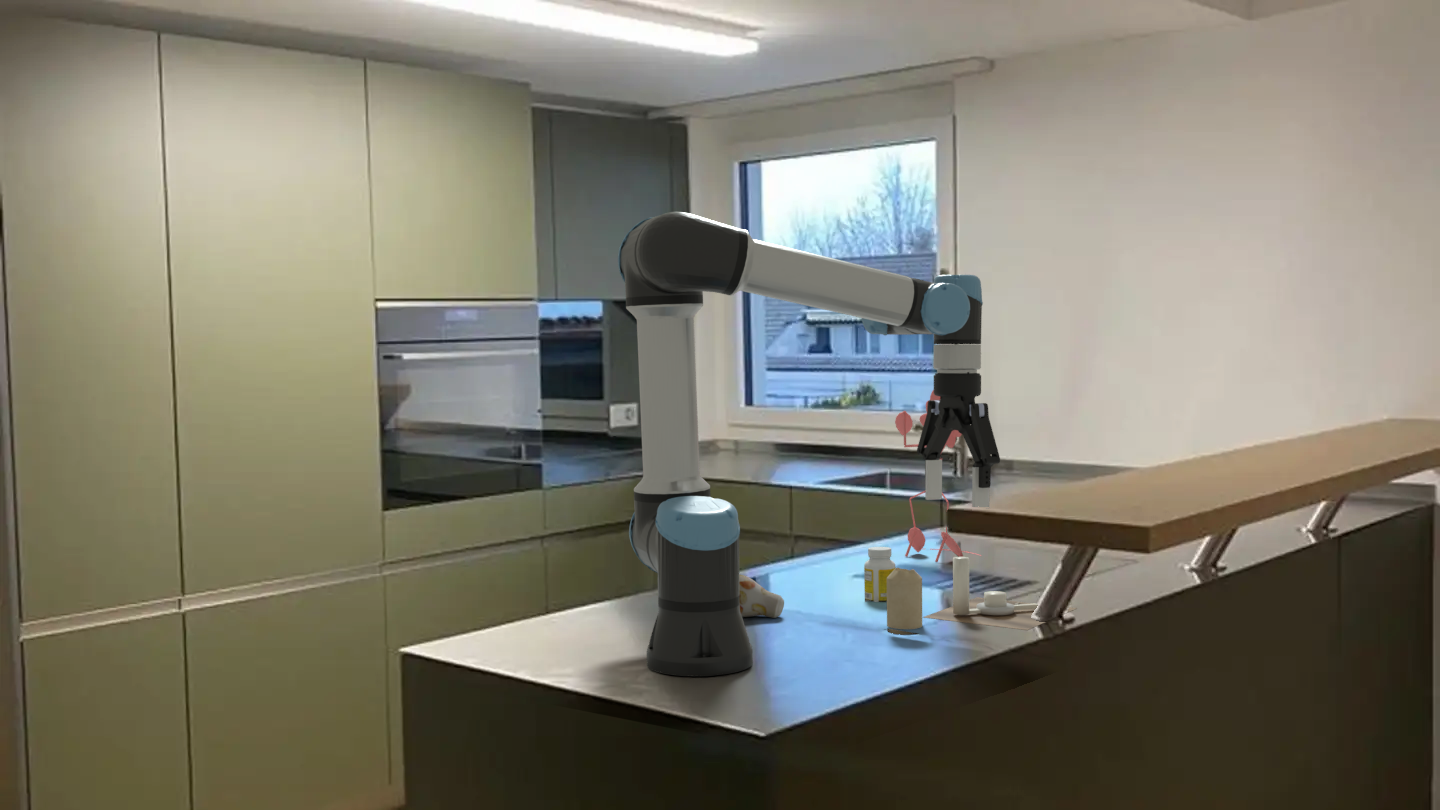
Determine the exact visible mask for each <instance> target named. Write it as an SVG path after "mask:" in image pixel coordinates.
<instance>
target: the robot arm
mask: <svg viewBox="0 0 1440 810" xmlns="http://www.w3.org/2000/svg"><path fill="white" fill-rule="evenodd" d="M617 265H618V266H617V267H618V270H619V274H620V277H621V278H622V281H623V282H624V284H625V286H624V287H625V309H626V310H627V311H628V312H629V313H630V314H632V316H633V317H634V318H635V319H636V330H637V331H636V335H637V354H638V355H637V356H638V377H639V378H638V379H639V381H638V383H639V401H640V402H639V403H640V404H639V405H640V427H641V428H640V429H641V430H640V431H641V449H642V450H641V453H642V456H641V457H642V478H641V480H640V481H639V482H638V483H637V485H636V486H635V487H634V488H633V502H634V504H633V505H634V512H633V514H632V516H631V520H630V523H629V530H628V535H629V540H630V545H631V547H632V550H633V551H634V553H635V555H636V557H637V558H638V560H640V562H641V563H642V564H643V566H646V567H647V568H648V569H649V570H651V571H652V572H654V573H656V574H657V600H658V601H657V603H658V605H657V606H658V608H657V615H656V617H655V622H654V625H653V628H652V632H651V634H650V635H651V636H650V639H649V644H648V646H647V648H646V666H647V668H649V670H652V671H653V672H657V673H660V674H664V675H669V676H670V675H672V676H679V677H681V676H682V677H713V676H722V675H728V674H730V675H731V674H734V673H738V672H742V671H745V670H747V669H749V668H750V667H752V665H753V663H754V661H753V659H754V658H753V657H754V656H753V655H754V654H753V653H754V652H753V646H752V644H751V642H750V639H749V635H748V632H747V629H746V625H745V622H744V619H743V617H742V616H741V613H740V599H739V595H740V594H739V575H740V533H741V527H740V526H741V525H740V523H739V514H738V509H737V508H736V506H735V505H734V504H732V503H731V502H730V501H727V500H725V499H721V498H713V497H711V495H712V494H711V484H709V483H708V482H707V481H706V480H705V479H704V478H703V477H702V475H701V473H700V472H701V471H700V470H701V469H700V468H701V467H700V448H699V442H700V441H699V424H698V423H699V422H698V420H699V419H698V395H697V369H696V346H695V343H696V341H695V317H696V314H697V313H698V312H699V311H700V310H701V309H702V308H703V306H704V292H709V293H715V294H717V293H718V294H722V295H727V296H730V297H731V296H734V295H736V294H737V293H739V292H745V293H749V294H752V295H753V294H754V295H758V296H761V297H762V296H763V297H766V298H771V299H775V300H780V301H783V302H789V303H793V304H798V305H803V306H807V307H811V308H815V309H819V310H820V309H821V310H824V311H829V312H834V313H838V314H841V315H847V316H850V317H851V316H852V317H856V318H859V319H860V318H861V323H862V325H863V328H864V330H865V331H866V333H869V334H870V335H883V336H887V335H892V336H893V335H899V336H900V335H901V336H902V335H910V336H911V335H933V369H934V370H936V373H934V375H933V390H934V395H936V396H940V400H930V399H929V401H928V400H927V401H928V408H927V411H926V413H927V416H926V419H925V423H924V426H923V425H922V429H921V435H920V437H919V440H918V443H917V444H918V447H916V453H917V455H918V456H919V455H921V456H922V459H924V476H925V477H924V478H925V490H924V491H925V495H924V496H925V500H926V501H930V500H931V501H933V500H942V499H943V496H942V493H943V456H942V453H943V451H944V450H943V448H944V446H945V444H946V442H947V440H948V438H949V436H950V434H951V432H952V431H953V430H958V431H959V433H961V434H962V435H961V436H963V439H964V441H965V444H966V446H967V447H968V450H969V452H970V454H971V456H972V459H973V461H974V463H973V464H972V467H971V468H972V469H971V470H972V476H971V477H972V478H971V481H972V485H971V504H972V505H971V508H972V507H978V506H979V507H989V508H990V496H991V495H990V494H991V493H990V491H991V490H990V488H991V483H992V482H991V478H992V477H991V474H992V473H991V472H992V471H991V468H992V467H993V466H994V465H996V464H1000V462H1001V456H1000V453H999V450H998V447H997V442H996V440H995V436H994V432H993V428H992V425H991V421H990V416H989V405H988V403H987V402H981V403H976V400H975V399H976V397H979V396H981V393H982V375H981V373H980V372H978V370H981V368H982V356H981V355H982V349H981V348H982V319H983V318H982V314H983V312H982V311H983V304H984V302H983V295H982V294H983V293H982V282H981V280H980V278H979V276H977V275H974V274H940V275H936V276H935V277H934V281H933V282H932V281H928V280H924V279H919V278H915V277H914V278H913V277H910V276H907V275H903V274H899V273H895V272H890V271H886V270H883V269H879V268H875V267H869V266H866V265H861V264H858V263H853V262H850V261H849V262H848V261H847V260H846V261H845V260H842V259H841V260H840V259H837V258H833V257H828V256H824V255H820V254H815V253H812V252H808V251H804V250H800V249H796V248H791V247H787V246H783V245H779V244H775V243H770V242H765V241H763V240H758V239H754V238H753V237H752V236H751V234H750V233H749V231H748V230H747V229H743V228H739V227H735V226H732V225H729V224H726V223H722V222H718V221H715V220H714V219H713V220H711V219H709V218H706V217H703V216H700V215H696V214H694V213H689V212H683V211H670V212H666V213H662V214H660V215H656V216H654V217H648V218H646V219H643V220H641V221H639V222H638V223H636V224H635V225H634V226H632V227H631V228H630V230H629V231H628V232H627V233H626V234H625V236H624V237H623V239H622V241H621V243H620V246H619V247H618V254H617ZM946 445H947V444H946ZM925 446H926V447H925ZM945 447H946V446H945ZM944 449H945V448H944ZM942 450H943V451H942ZM941 452H942V453H941ZM939 459H942V460H939Z"/></svg>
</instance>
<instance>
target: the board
mask: <svg viewBox="0 0 1440 810" xmlns="http://www.w3.org/2000/svg"><path fill="white" fill-rule="evenodd" d="M983 602H984V597H979V596H977V597H974V598H971V599H969V609H977V604H979V603H983ZM1007 603H1010V604H1013V605H1018V604H1033V602H1023V601H1022V602H1021V601H1015V600H1007ZM1068 607H1069V606H1068ZM1077 609H1078V608H1077V607H1069V609H1068V613H1070V612H1073V611H1074V610H1077ZM1034 610H1035V609H1026V610H1014V613H1013V614H1009V615H986V614H981V613H976V614H967V615H957V614H953V605H952V606H950V607H947V608H944V609H940V610H939V611H936V612H933V613H931V614H928V615H926V616H922V619H923V618H924V619H931V620H932V619H933V620H940V621H951V622H955V623H965V624H966V623H967V624H974V625H981V626H982V625H983V626H991V627H998V628H1005V629H1006V628H1008V629H1014V630H1020V631H1021V630H1023V631H1029V630H1031V629H1034V628H1036V627H1038V626H1041V625H1042V624H1045V623H1046V622H1039V621H1036V620H1034V619H1032V618H1031V615H1032V613H1033V612H1034Z"/></svg>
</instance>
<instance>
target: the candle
mask: <svg viewBox="0 0 1440 810" xmlns="http://www.w3.org/2000/svg"><path fill="white" fill-rule="evenodd" d="M886 626H887V627H888V628H886V629H887V630H886V631H887V632H888V633H889V634H892V633H893V634H892V635H899V634H900V635H899V636H911V635H912V636H913V635H919V634H920V632H914V631H913V632H912V631H906V630H916V629H919V628H922V627H923V577H922V576H921V575H920V574H919V573H918V572H917V571H916V570H915V569H913V568H912V569H908V568H907V569H906V568H900V567H896V569H894V570H893V571H892V573H891V574H890V575H889V576H888V577H887V602H886Z"/></svg>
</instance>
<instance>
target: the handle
mask: <svg viewBox="0 0 1440 810" xmlns="http://www.w3.org/2000/svg"><path fill="white" fill-rule="evenodd" d="M983 598H984V602H983V603H979V604H977V609H969V600H970V557H968V556H963V557H958V556H953V557H952V606H953V614H957V615H967V614H976V613H981V614H986V615H1009V614H1013V613H1014V610H1026V609H1036V608H1037V606H1038V604H1039V603H1033V602H1032V603H1033V604H1018V605H1013V604H1010V603H1007V601H1008V600H1007V592H1004V591H999V590H998V591H997V590H996V591H994V590H993V591H992V590H991V591H985V592H984V593H983Z"/></svg>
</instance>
